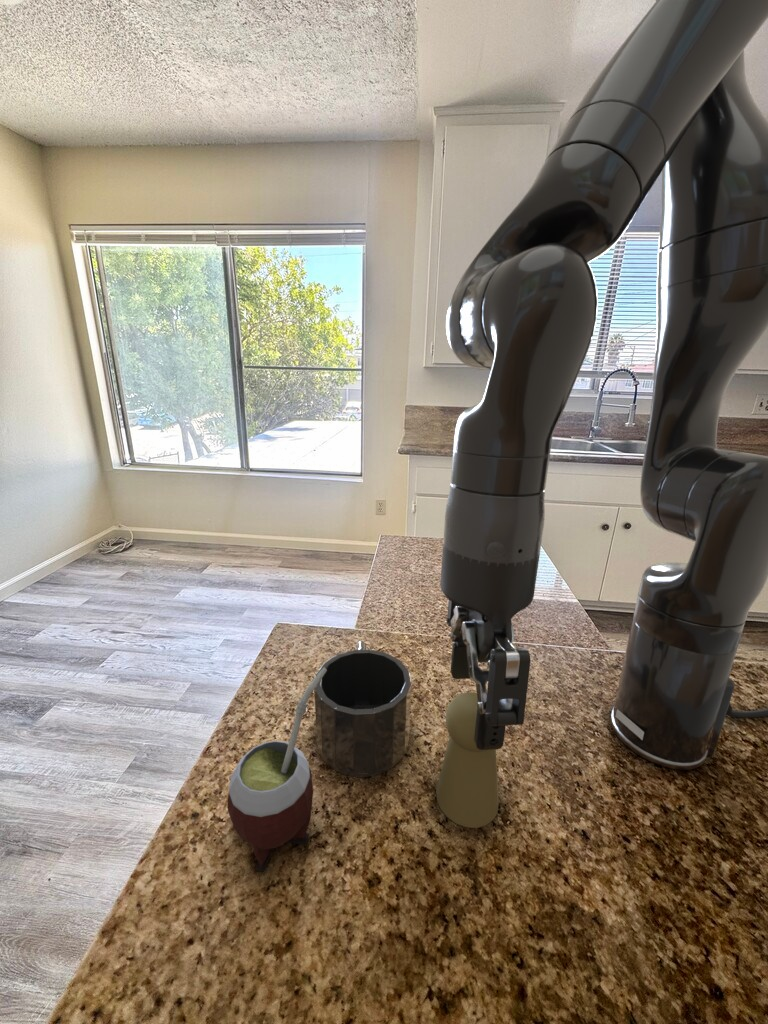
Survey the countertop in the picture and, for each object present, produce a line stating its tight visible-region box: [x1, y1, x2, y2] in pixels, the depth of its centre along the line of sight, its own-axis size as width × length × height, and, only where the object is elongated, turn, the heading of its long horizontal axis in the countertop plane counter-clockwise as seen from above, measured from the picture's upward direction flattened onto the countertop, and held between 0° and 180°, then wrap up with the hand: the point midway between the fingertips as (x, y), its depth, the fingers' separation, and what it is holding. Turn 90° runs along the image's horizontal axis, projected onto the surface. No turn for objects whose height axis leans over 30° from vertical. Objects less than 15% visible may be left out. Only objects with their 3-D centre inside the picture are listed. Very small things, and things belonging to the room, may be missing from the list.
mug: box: [313, 640, 412, 778], centre depth 49 cm, size 14×10×8 cm
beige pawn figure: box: [435, 691, 500, 829], centre depth 40 cm, size 6×6×11 cm
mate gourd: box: [226, 667, 327, 874], centre depth 36 cm, size 8×8×15 cm
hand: (473, 707), depth 38 cm, fingers open, 8 cm apart
